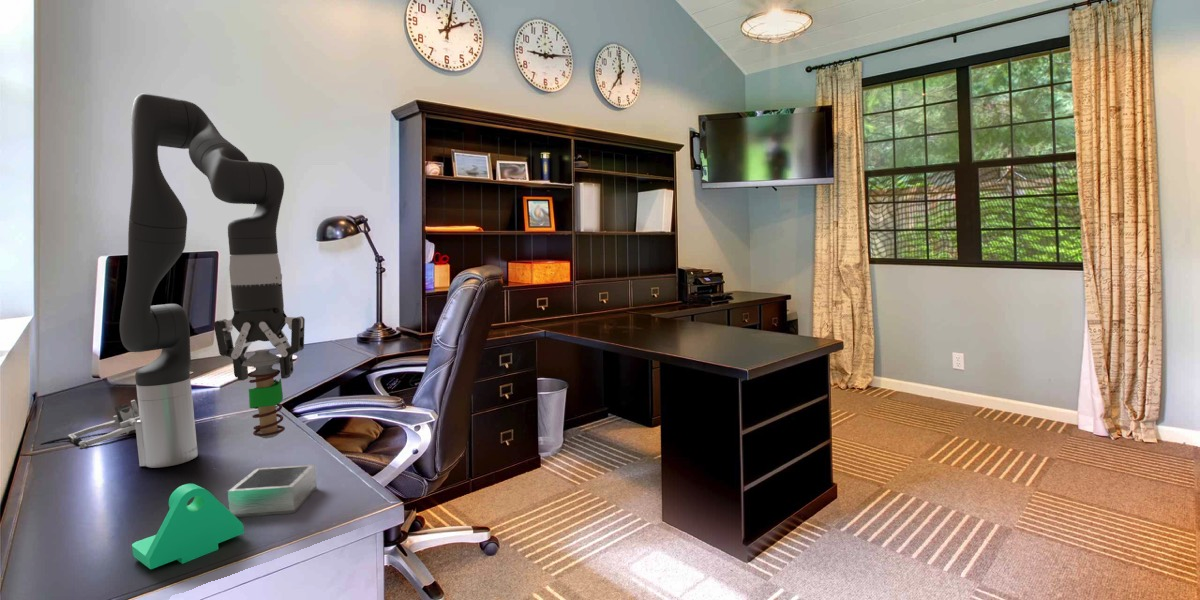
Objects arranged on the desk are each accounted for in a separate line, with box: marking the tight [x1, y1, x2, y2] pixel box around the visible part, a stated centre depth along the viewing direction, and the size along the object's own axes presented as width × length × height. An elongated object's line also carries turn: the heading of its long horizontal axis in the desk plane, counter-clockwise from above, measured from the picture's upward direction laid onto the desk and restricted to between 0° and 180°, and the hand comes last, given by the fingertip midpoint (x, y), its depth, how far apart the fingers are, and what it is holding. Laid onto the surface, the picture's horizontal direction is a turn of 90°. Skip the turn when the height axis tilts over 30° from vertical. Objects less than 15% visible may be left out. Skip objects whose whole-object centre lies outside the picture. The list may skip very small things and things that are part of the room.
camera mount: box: [131, 483, 245, 570], centre depth 88 cm, size 12×8×10 cm, turn 144°
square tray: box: [227, 464, 318, 518], centre depth 104 cm, size 10×10×4 cm
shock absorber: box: [242, 349, 286, 439], centre depth 102 cm, size 6×6×15 cm
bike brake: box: [40, 399, 140, 449], centre depth 144 cm, size 14×7×20 cm
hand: (264, 378), depth 102 cm, fingers closed on shock absorber, 6 cm apart
